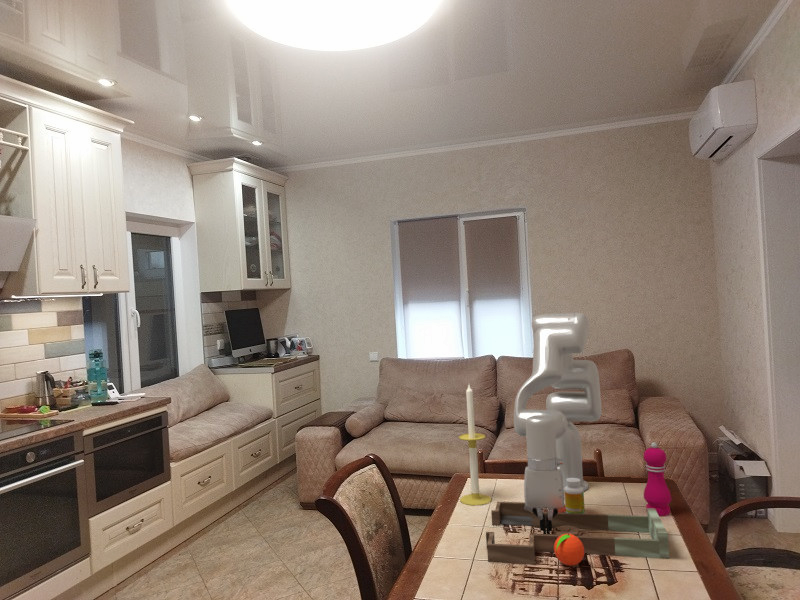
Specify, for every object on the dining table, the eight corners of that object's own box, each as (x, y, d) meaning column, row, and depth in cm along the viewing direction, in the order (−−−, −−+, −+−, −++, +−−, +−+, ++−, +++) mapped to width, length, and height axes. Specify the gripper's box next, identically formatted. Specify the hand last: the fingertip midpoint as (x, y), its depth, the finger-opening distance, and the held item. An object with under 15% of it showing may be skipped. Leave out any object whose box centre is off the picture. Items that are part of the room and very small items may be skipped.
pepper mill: (638, 510, 163) (634, 441, 163) (657, 505, 166) (653, 438, 166) (659, 518, 156) (654, 446, 157) (678, 513, 159) (673, 443, 159)
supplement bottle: (585, 516, 161) (583, 482, 161) (566, 516, 162) (564, 482, 162) (583, 509, 166) (581, 476, 166) (564, 509, 167) (562, 476, 167)
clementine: (570, 575, 127) (568, 544, 128) (545, 565, 133) (543, 535, 133) (591, 564, 132) (589, 534, 132) (567, 554, 138) (565, 525, 138)
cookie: (566, 529, 153) (565, 518, 153) (599, 542, 144) (598, 530, 144) (541, 540, 148) (540, 528, 148) (574, 553, 139) (573, 541, 139)
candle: (470, 508, 173) (463, 386, 173) (454, 498, 182) (447, 383, 182) (497, 501, 177) (490, 382, 177) (480, 492, 186) (473, 379, 186)
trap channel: (494, 515, 166) (493, 494, 166) (651, 521, 155) (650, 499, 155) (483, 561, 137) (482, 536, 137) (675, 572, 126) (674, 545, 126)
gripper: (571, 460, 149) (575, 529, 149) (514, 459, 153) (518, 526, 153) (572, 468, 142) (576, 541, 142) (512, 466, 146) (516, 537, 146)
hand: (546, 533), depth 147 cm, fingers closed
